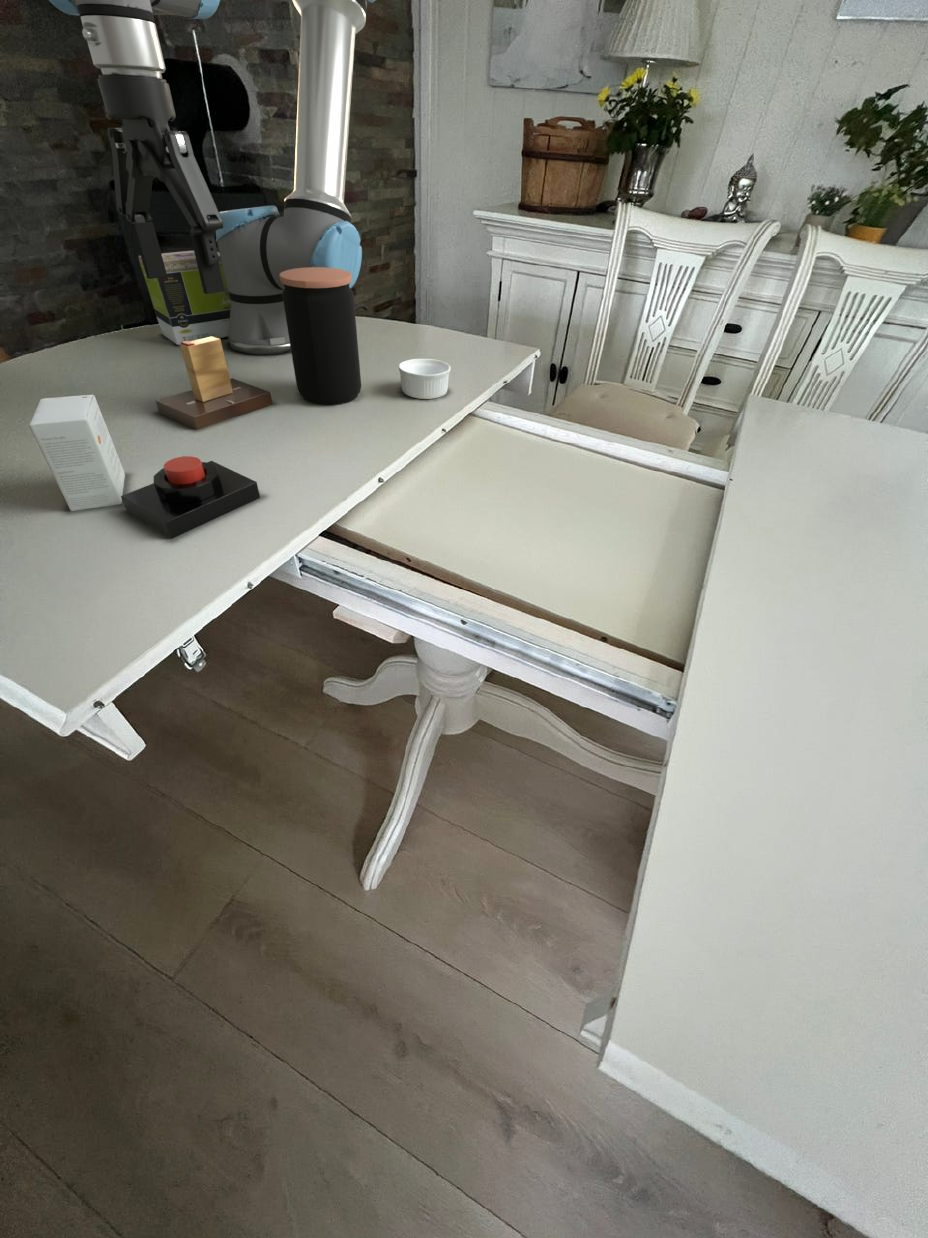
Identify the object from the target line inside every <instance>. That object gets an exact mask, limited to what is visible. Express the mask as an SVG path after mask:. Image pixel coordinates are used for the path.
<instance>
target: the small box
mask: <svg viewBox="0 0 928 1238" xmlns="http://www.w3.org/2000/svg"><path fill="white" fill-rule="evenodd" d="M28 427H29V429H30V431H31V433H32V435H33V437H34V439H35V440H36V443H37V445H38V447H39V449H40V451H41V454H42V455H43V457H44V459H45V461H46V463H47V465H48V467H49V469H50V472H51V474H52V475H53V477H54V480H55V482H56V484H57V486H58V488H59V490H60V492H61V494H62V496H63V498H64V500H65V502H66V505H67V506H68V509H69V510H70V512H75V511H83V510H91V509H98V508H104V507H105V508H106V507H111V506H118V505H122V504H123V501H122V498H121V496H122V495H124V486H125V476H126V473H125V470H124V467H123V465H122V463H121V460H120V458H119V455H118V452H117V450H116V447H115V445H114V442H113V439H112V437H111V434H110V432H109V429H108V427H107V424H106V422H105V419H104V417H103V414H102V412H101V409H100V406H99V403H98V401H97V399H96V396H95V395H94V394H83V395H69V396H56V397H45V398H44V397H43V398H40V399H39V402H38V404H37V407H36V409H35V411H34V414H33V415H32V417H31V420H30V422H29V425H28Z"/></svg>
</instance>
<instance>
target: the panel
mask: <svg viewBox="0 0 928 1238" xmlns="http://www.w3.org/2000/svg"><path fill="white" fill-rule="evenodd" d="M230 382H231V386H232V390H233V393H230V394H227V395H224V396H221V397H218V398H214V399H211V400H208V401H205V402H202V401H199V400H197V399H195V398H194V394H193V391H192V389H189V390H186V391H184V392H183V391H182V392H179V393H177V394H173V395H170V396H167V397H162V398H160V399H156V400H155V403H156V407H157V410H158V413H159V414H160V415H163V416H165V417H166V418H167V417H168V418H169V419H171V420H174V421H176V422H178V423H180V424H182V425H185V426H187V427H189V428H191V429H194V430H197V431H199V430H201V429H204V428H207V427H210V426H213V425H215V424H218V423H222V422H224V421H227V420H230V419H233V418H236V417H239V416H242V415H246V414H248V413H252V412H254V411H256V410H257V411H258V410H260V409H263V408H267V407H269V406H272V405H274V404H273V397H272V393H271V391H269V390H266V389H264V388H260V387H258V386H256V385H252V384H249V383H247V382H244V381H241V380H239V379H236V378H234V377H231V378H230Z"/></svg>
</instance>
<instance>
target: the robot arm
mask: <svg viewBox="0 0 928 1238" xmlns="http://www.w3.org/2000/svg"><path fill="white" fill-rule="evenodd" d="M48 1H49V2H50V3H51V5H53V6H54V7H55V8H57V9H58V10H59V11H60V12H62V13H64V14H66V15H71V16H79V17H80V21H81V24H82V31H81V33H82V36H83V38H84V40H86V43H87V46H88V49H89V53H90V56H91V60H92V64H93V66H94V67H95V68H97V69H100V71H101V73H102V74H101V75H100V74H99V75H97V76H98V78H97V79H96V80H97V83H98V84H97V85H98V87H99V90H100V94H101V97H102V101H103V105H104V108H105V111H106V114H107V116H109V118H112V119H118V120H119V121H120V125H121V127H108V128H107V136H108V140H109V144H110V148H111V156H112V167H113V180H114V191H115V203H116V210H117V212H118V214H119V215H120V216H125V217H126V220H127V221H128V222H129V223H131V227H132V230H133V235H134V237H135V241H136V244H137V248H138V251H139V256H141V258H142V262H143V265H144V269H145V272H146V276H147V278H148V279H154V278H161V277H167V273H166V269H165V265H164V262H163V258H162V251H161V246H160V243H159V240H158V236H157V232H156V228H155V225H154V222H152V221H153V220H154V218H152V216H151V214H150V205H151V198H152V190H153V181H154V179H155V178H157V179H158V180H159V181H160V182H161V183H164V184H165V186H166V188H167V189H168V191H169V192H170V194H171V196H172V197H173V199H174V200H175V202H176V204H177V206H178V207H179V209H180V211H181V212H182V214H183V216H184V217H185V219H186V221H187V222H188V225H190V231H189V236H190V240H191V245H192V249H193V251H194V253H195V257H196V261H197V266H198V270H199V274H200V278H201V283H202V287H203V291H204V293H205V294H210V293H216V292H222V291H225V290H224V285H223V280H222V276H221V271H220V266H219V257H218V253H217V252H219V253H220V257H221V262H222V266H223V270H224V275H225V279H226V284H227V288H228V292H229V297H230V302H231V310H230V323H229V336H228V337H227V338H228V341H229V345H230V348H231V349H233V350H234V351H236V352H240V353H244V354H251V355H276V354H277V355H278V354H285V353H289V352H290V353H291V347H290V340H289V334H288V328H287V322H286V315H285V309H284V303H283V296H282V292H283V290H284V289H285V287H284V284H283V283H282V282H281V281H280V276H279V274H280V273H281V272H283V271H286V270H290V269H295V268H307V267H326V268H336V269H342V270H345V271H348V272H350V273H351V274H352V281H351V283H350V284H349V287H350V289H351V290H352V288H353V287H354V286H355V284H356V282H357V280H358V277H359V275H360V271H361V267H362V259H363V248H362V245H361V236H360V233H359V231H358V230H357V228H356V227H355V225H354V224H352V214H351V213H350V211H349V210H348V208H347V207H346V205H345V193H346V192H345V191H346V190H345V189H346V179H347V177H346V175H347V163H348V160H347V159H348V149H349V147H348V145H349V133H350V119H351V118H350V117H351V105H352V103H351V102H352V87H353V75H354V74H353V73H354V59H355V43H356V34H358V33H359V32H360V31H362V30H363V29H364V27H365V25H366V22H367V21H366V20H367V8H368V3H371V4H373V3H374V2H375V1H377V0H281V1H282V2H289V3H293V5H294V7H295V9H296V11H298V13H299V15H300V39H299V61H298V87H297V107H296V108H297V110H296V130H295V131H296V134H295V154H294V156H295V158H294V182H293V191H292V192H291V193H290V194H288V195H287V196H286V197H285V198H284V203H283V204H284V205H283V206H284V207H283V216H280V212H279V210H278V207H277V206H276V205H262V206H254V207H246V208H239V209H237V208H236V209H230V210H225V211H224V210H223V211H222V210H221V211H219V210H218V207H217V205H216V203H215V201H214V198H213V196H212V193H211V192H210V189H209V187H208V184H207V182H206V179H205V177H204V175H203V173H202V172H201V169H200V166H199V164H198V162H197V159H196V157H195V155H194V150H193V147H192V143H191V139H190V136H189V134H188V133H187V131H183V130H182V131H181V130H179V131H178V130H170V129H171V128H170V126H169V122H173V121H175V119H176V117H177V116H176V111H175V106H174V101H173V97H172V93H171V89H170V88H171V87H170V84H169V83H167V80H166V79H163V75H162V74H164V73H165V72H166V69H167V68H166V64H165V59H164V56H163V51H162V46H161V43H160V39H159V34H158V30H157V26H156V22H155V17H154V16H182V17H184V18H185V19H188V20H196V19H197V20H207V19H209V18H211V17H212V16H213V15H214V14H215V13H216V11H217V10H218V7H219V6H220V2H221V0H48ZM215 236H216V238H215ZM216 244H217V245H216ZM217 248H218V249H217ZM354 306H355V312H357V311H358V310H360V309H363V310H364V311H370V309H369V307H368V306H367V305H366V304H365V303H358V304H357V305H354Z"/></svg>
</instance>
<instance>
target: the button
mask: <svg viewBox="0 0 928 1238" xmlns="http://www.w3.org/2000/svg"><path fill="white" fill-rule="evenodd" d="M202 462H203V461H202V460H201V459H200V458H199V457H196V456H190V455H189V456H188V455H187V456H185V455H183V456H178V457H174V458H172V459H171V458H170V459H169V460H168V461H166V462H165V463H163V464H164V465H163V468H164V470H165V473H166V476H167V479H168V481H169V482H170V483H171V484H180V485H182V484H189V483H194V482H196V481H198V480H201V479H203V478H204V477H205V473H204V469H203V466H202Z"/></svg>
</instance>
